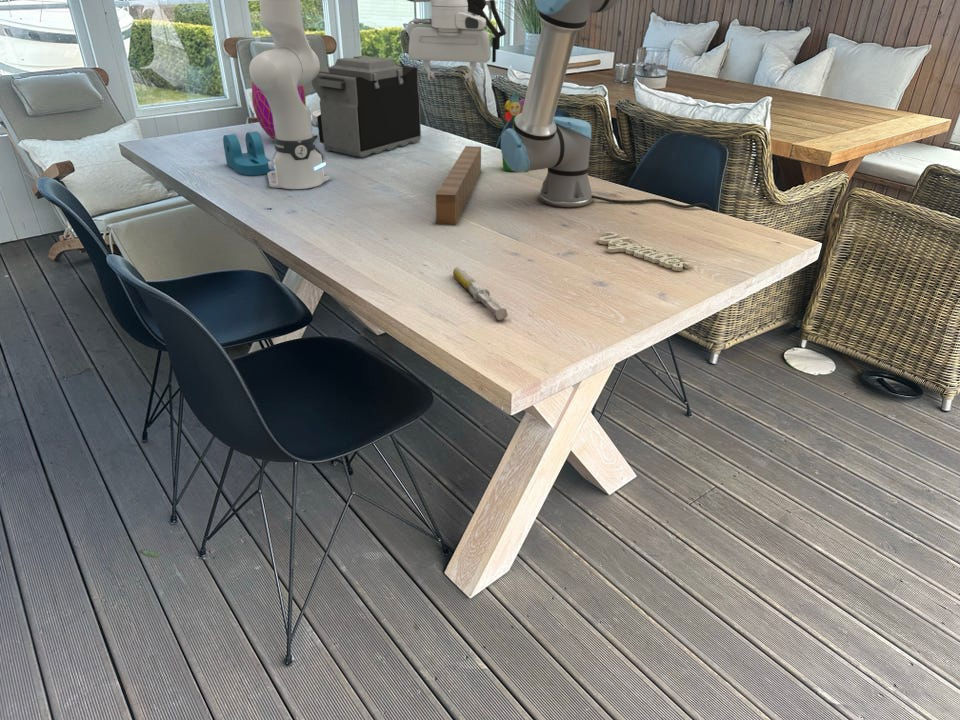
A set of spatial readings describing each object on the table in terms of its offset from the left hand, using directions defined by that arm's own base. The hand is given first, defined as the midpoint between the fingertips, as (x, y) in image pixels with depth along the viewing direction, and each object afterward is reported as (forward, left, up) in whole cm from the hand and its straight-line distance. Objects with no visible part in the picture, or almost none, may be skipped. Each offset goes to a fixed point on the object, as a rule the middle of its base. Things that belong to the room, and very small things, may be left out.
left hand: (449, 80), depth 172 cm
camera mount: (-73, -38, -35) cm, 90 cm away
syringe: (+50, -19, -35) cm, 64 cm away
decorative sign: (+46, +28, -35) cm, 64 cm away
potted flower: (-33, +40, -35) cm, 63 cm away
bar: (-16, +11, -35) cm, 40 cm away
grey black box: (-85, +9, -35) cm, 93 cm away
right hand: (-31, +23, 0) cm, 39 cm away
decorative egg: (-109, -17, -35) cm, 116 cm away
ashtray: (-129, +13, -35) cm, 135 cm away
